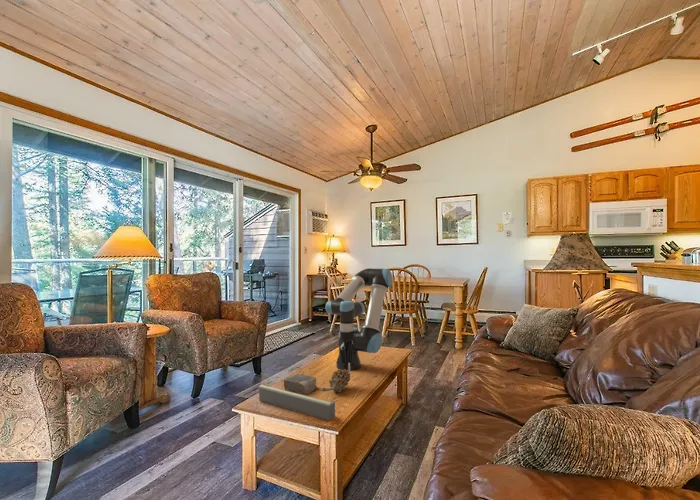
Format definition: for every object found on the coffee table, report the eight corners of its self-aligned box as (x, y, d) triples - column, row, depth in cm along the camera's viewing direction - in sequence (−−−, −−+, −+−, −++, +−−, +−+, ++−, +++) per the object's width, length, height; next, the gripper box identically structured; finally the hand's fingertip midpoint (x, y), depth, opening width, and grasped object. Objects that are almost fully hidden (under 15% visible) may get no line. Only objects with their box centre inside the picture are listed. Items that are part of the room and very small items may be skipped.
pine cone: (338, 383, 176) (338, 364, 176) (354, 386, 171) (354, 367, 171) (315, 399, 156) (315, 378, 156) (333, 403, 152) (332, 382, 152)
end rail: (266, 396, 159) (266, 382, 159) (334, 415, 140) (334, 399, 140) (259, 400, 155) (258, 386, 155) (328, 420, 136) (328, 404, 136)
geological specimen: (295, 373, 178) (318, 376, 171) (295, 384, 177) (319, 388, 171) (282, 379, 168) (307, 382, 162) (283, 391, 168) (307, 395, 161)
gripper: (347, 333, 167) (347, 380, 166) (359, 328, 178) (359, 372, 177) (334, 332, 170) (334, 378, 170) (347, 327, 182) (347, 370, 181)
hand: (347, 375), depth 174 cm, fingers closed
